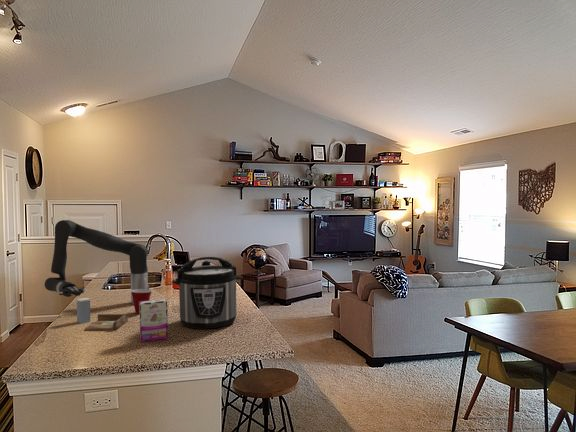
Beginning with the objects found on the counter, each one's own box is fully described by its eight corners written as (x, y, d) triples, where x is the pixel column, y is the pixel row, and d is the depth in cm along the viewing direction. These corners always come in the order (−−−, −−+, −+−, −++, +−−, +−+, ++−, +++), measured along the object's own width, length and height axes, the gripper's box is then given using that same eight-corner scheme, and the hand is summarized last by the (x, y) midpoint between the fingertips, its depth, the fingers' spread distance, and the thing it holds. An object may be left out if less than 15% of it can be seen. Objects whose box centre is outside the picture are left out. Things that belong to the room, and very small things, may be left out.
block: (86, 319, 212) (86, 297, 212) (90, 321, 209) (90, 299, 208) (76, 321, 209) (76, 299, 208) (80, 323, 205) (80, 300, 205)
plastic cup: (157, 311, 229) (156, 288, 228) (142, 316, 219) (141, 292, 219) (141, 309, 233) (141, 287, 233) (126, 313, 224) (125, 290, 223)
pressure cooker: (163, 328, 198) (163, 259, 197) (194, 313, 225) (194, 252, 224) (222, 334, 189) (222, 262, 188) (247, 317, 216) (247, 254, 215)
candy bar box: (166, 336, 187) (166, 298, 186) (168, 339, 182) (167, 300, 181) (139, 339, 182) (138, 300, 182) (140, 342, 178) (139, 303, 177)
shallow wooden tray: (98, 321, 209) (98, 314, 209) (127, 321, 210) (127, 314, 209) (84, 330, 194) (84, 322, 194) (116, 330, 195) (115, 322, 194)
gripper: (52, 282, 224) (64, 287, 212) (79, 280, 233) (92, 284, 221) (52, 297, 224) (64, 303, 212) (79, 293, 234) (91, 299, 222)
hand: (78, 293), depth 217 cm, fingers closed
